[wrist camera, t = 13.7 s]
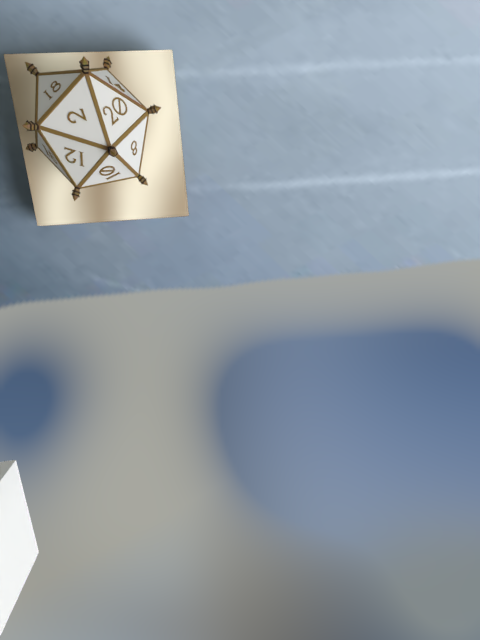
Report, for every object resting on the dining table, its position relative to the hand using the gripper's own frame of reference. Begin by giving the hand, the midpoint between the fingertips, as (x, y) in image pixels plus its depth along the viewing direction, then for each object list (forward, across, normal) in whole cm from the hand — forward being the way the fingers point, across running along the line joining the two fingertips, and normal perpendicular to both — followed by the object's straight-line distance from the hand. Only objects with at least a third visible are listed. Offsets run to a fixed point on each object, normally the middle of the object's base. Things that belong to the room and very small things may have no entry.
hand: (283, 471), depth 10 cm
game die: (+25, -8, +13) cm, 29 cm away
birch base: (+29, -8, +13) cm, 33 cm away
